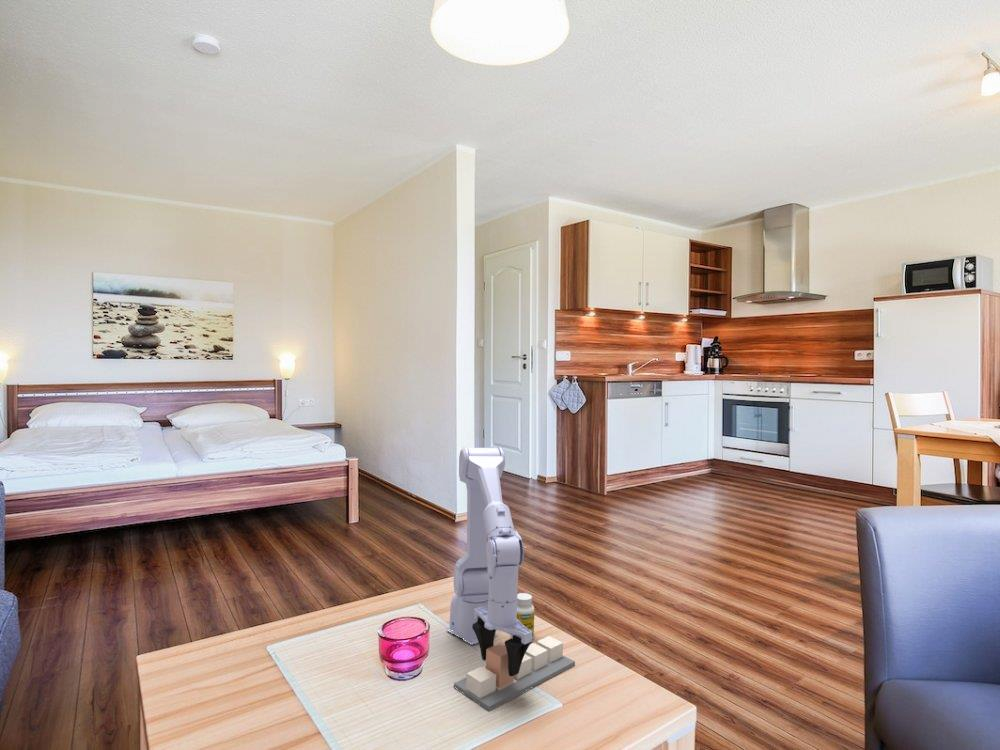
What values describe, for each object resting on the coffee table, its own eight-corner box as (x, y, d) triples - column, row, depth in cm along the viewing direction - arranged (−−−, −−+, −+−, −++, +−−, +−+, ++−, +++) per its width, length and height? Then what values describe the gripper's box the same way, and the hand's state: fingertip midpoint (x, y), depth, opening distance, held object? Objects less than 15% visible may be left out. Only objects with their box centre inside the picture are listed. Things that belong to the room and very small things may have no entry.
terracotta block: (485, 679, 110) (486, 649, 110) (499, 672, 112) (500, 642, 112) (499, 688, 107) (500, 656, 107) (513, 680, 110) (515, 650, 110)
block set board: (453, 687, 108) (454, 667, 108) (539, 647, 125) (540, 630, 125) (488, 711, 101) (489, 690, 101) (574, 665, 118) (575, 647, 118)
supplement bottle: (524, 630, 134) (526, 590, 134) (538, 639, 129) (539, 598, 129) (506, 635, 131) (507, 594, 131) (519, 644, 126) (521, 602, 126)
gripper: (463, 591, 112) (460, 658, 112) (514, 615, 102) (511, 689, 102) (489, 582, 117) (486, 647, 117) (540, 605, 107) (537, 676, 107)
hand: (500, 666), depth 110 cm, fingers open, 7 cm apart
